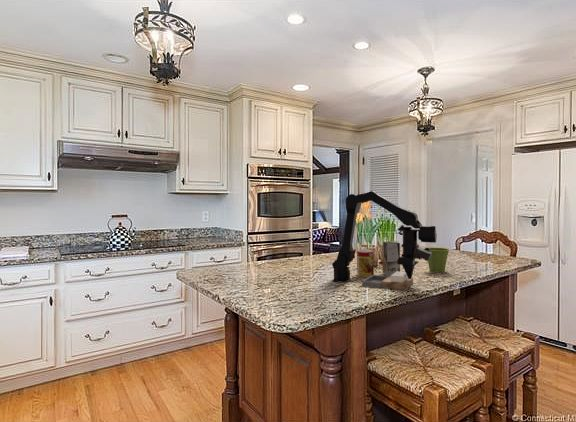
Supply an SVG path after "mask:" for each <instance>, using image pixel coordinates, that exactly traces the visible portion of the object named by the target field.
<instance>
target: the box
mask: <svg viewBox="0 0 576 422" xmlns="http://www.w3.org/2000/svg"><path fill="white" fill-rule="evenodd" d="M387 277H389V276H386V275H379V274H378V275H377V274H374V275H372V276H370V277H366V278H365V279H364V280H362V281H361V287H371V288H380V289H382V288H383V287H382V281H383V280H384V279H386V278H387Z"/></svg>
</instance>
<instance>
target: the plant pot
mask: <svg viewBox="0 0 576 422" xmlns="http://www.w3.org/2000/svg"><path fill="white" fill-rule="evenodd" d="M429 248H430V252H432V255H431V257H430V260H429V261H427V262H428V269H429V271H430V272H433V273H441V272H442V273H444V272H445V271H446V265H447V261H448V260H447V259H448V255H449V251H450V250H451V249H450V248H446V247H429Z"/></svg>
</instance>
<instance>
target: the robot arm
mask: <svg viewBox="0 0 576 422" xmlns="http://www.w3.org/2000/svg"><path fill="white" fill-rule="evenodd" d="M370 201H371V202H373V203H375V204H376V205H378V206H380V208H383V209H384V210H386V211H387V212H389V213H391V214H392V215H394V216H395V217H396V218H397V220H399V221H400V222H401V223H402V225H400V226H399V228H397V231H400V232H401V231H402V243H401V247H402V253H401V255H400V257H399V258H398V259H397V264H400V266H402V268H403V270H404V272H406V274H407V277H408V279H411V278H413V274H414V271H415V270H414V269H415V267H416V265H418V264H419V261H417V260H416V259H418V260H424V261H427V262H428V261H429V260H430V257H431V255H432V252H430V248H431V247H425V248H421V247H420V244H419V243H418V240H419V241H420V242H421V243H434V244H435V243H437V239H438V238H437V235H438V234H437V227H436V225H423V224H422V223H421V222H420V221H419V217H418V215H417V213H416V212H414V211H412V210H410V209H407V208H403V207H401V206H398V205H397V204H395V203H394V202H392V201H390V200H389V199H388V198H385V197H384V196H382V195H381V194H378V193H377V192H376V191H371V190H370V191H367V192H364V193H359V194H356V193H350V194H348V195H346V197H345V210H346V217H345V218H346V219H345V225H344V233H343V238H342V245H341V246H340V248H339V249H338V252H337V257H336V259H335V260H334V261H333V262H332V263H331V265H332V268H333V279H332V282H340V283H347V282H349V281H350V280H351V270H350V263H351V262H353V260H354V259H356V255H355V254H356V253H357V251H356V249H354V247H353V242H354V236H355V229H356V224H357V217H358V214H359V211H360V209H361V207H362V204H365V203H368V202H370Z"/></svg>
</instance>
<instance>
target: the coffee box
mask: <svg viewBox="0 0 576 422" xmlns="http://www.w3.org/2000/svg"><path fill="white" fill-rule="evenodd" d="M399 257H401V243H400V242H398V241H393V240H392V241H382V275H384V276H391V275H392V274H394V273H395V272H397V271H398V272H401V264H397V259H398V258H399Z"/></svg>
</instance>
